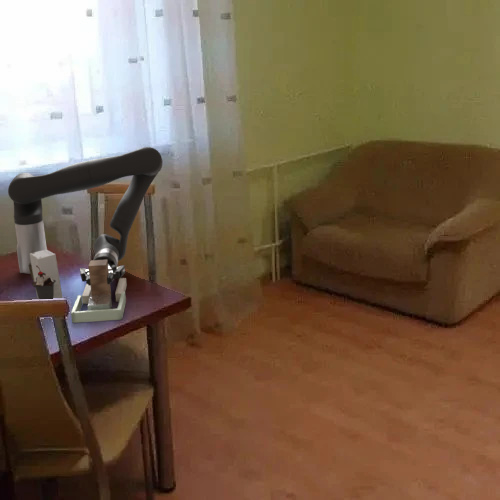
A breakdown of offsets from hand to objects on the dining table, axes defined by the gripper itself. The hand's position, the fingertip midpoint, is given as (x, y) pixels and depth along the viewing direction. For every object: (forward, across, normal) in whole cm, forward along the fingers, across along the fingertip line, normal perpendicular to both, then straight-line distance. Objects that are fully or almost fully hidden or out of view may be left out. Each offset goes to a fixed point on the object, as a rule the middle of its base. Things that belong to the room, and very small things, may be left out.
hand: (98, 281), depth 224 cm
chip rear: (+2, 0, +8) cm, 8 cm away
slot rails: (-11, 0, +8) cm, 13 cm away
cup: (-22, -21, +8) cm, 31 cm away
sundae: (+3, -15, +8) cm, 17 cm away
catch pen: (+4, 0, +8) cm, 9 cm away
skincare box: (-10, -17, +8) cm, 21 cm away
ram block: (-3, 0, +7) cm, 7 cm away
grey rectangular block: (+6, 0, +8) cm, 10 cm away
